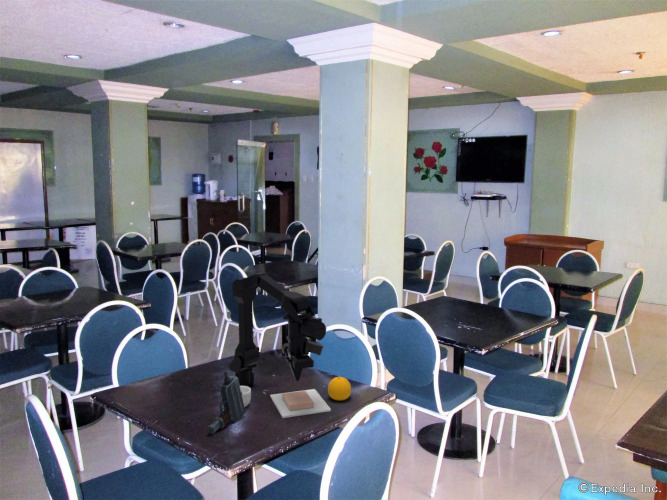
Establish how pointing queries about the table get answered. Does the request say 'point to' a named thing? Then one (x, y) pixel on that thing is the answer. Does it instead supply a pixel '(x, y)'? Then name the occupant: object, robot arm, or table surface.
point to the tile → (297, 400)
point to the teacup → (245, 394)
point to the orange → (339, 388)
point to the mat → (318, 408)
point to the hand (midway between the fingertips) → (297, 380)
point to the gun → (228, 403)
